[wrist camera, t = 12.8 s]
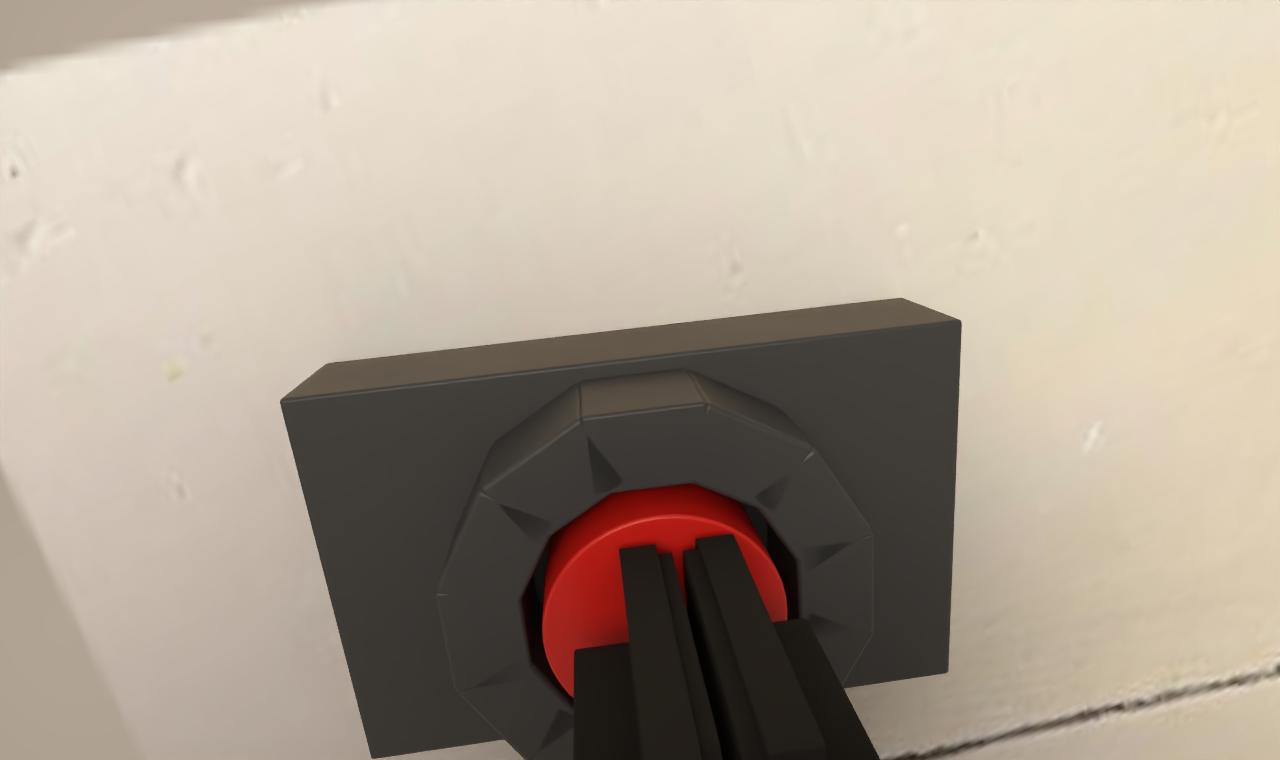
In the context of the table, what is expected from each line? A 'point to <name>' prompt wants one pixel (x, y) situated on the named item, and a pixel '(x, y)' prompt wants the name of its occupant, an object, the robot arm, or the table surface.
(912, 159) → the table surface
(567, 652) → the red button
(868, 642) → the button block
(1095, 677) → the table surface
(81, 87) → the table surface
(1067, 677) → the table surface
